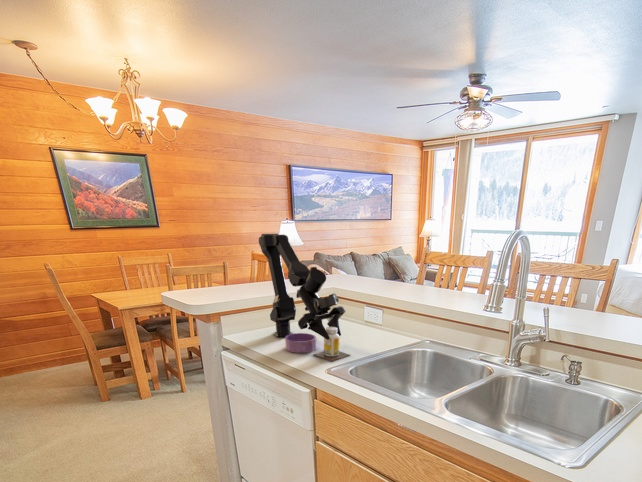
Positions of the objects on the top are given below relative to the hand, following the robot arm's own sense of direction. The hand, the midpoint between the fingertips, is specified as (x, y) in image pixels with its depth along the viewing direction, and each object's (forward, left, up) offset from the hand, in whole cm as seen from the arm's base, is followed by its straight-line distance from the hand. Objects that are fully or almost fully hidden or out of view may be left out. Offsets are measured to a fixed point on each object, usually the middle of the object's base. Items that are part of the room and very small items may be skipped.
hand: (334, 337), depth 143 cm
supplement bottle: (-1, -1, -7) cm, 7 cm away
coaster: (-1, -1, -7) cm, 7 cm away
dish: (-11, -10, -7) cm, 16 cm away
